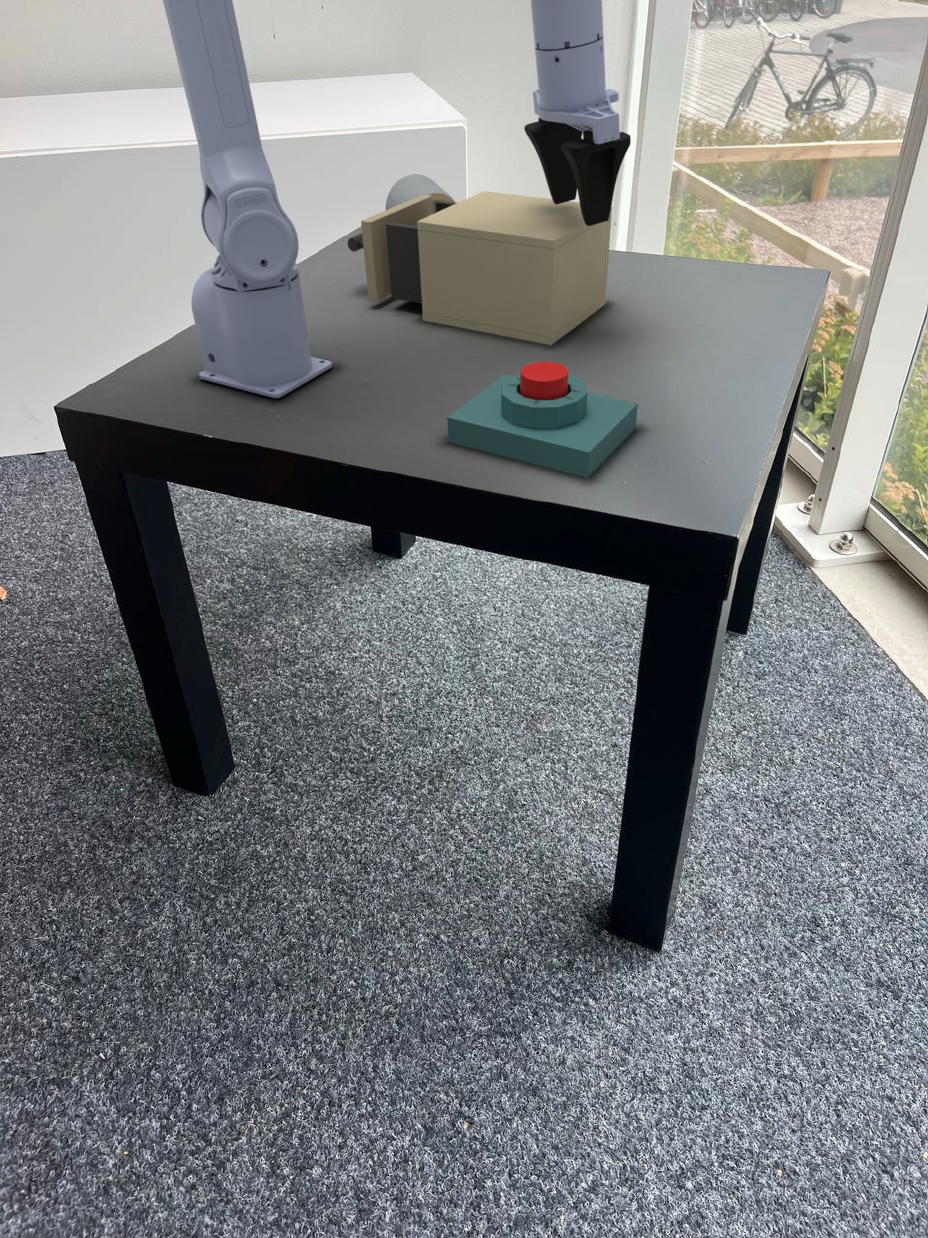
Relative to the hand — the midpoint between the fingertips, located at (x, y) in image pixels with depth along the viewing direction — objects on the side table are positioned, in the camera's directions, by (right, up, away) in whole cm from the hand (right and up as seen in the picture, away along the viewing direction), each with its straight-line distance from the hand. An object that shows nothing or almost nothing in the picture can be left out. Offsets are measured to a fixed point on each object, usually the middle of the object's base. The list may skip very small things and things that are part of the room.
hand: (580, 211), depth 83 cm
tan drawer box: (-6, -6, +9) cm, 12 cm away
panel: (-5, -24, -13) cm, 27 cm away
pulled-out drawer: (-14, -3, +12) cm, 19 cm away
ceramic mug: (-14, +8, +28) cm, 32 cm away
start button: (-5, -21, -15) cm, 26 cm away
